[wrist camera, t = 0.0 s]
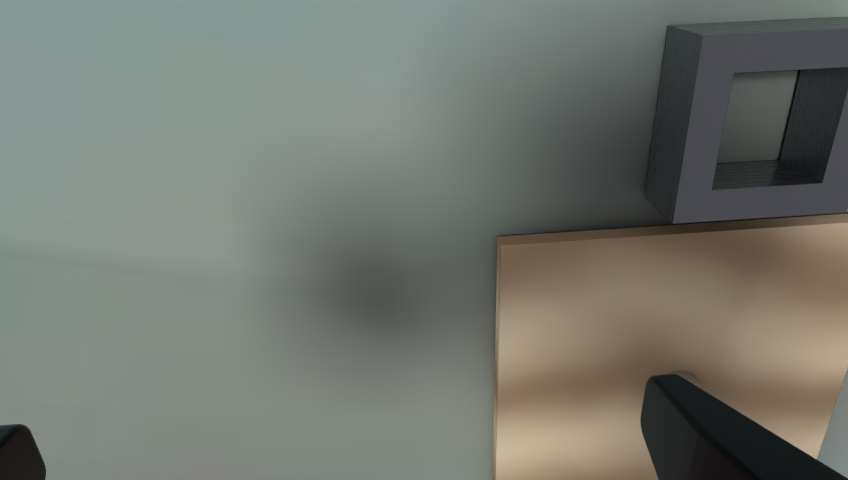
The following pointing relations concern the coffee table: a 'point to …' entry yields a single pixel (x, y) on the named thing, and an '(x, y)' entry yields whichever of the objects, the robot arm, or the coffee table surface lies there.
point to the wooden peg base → (663, 336)
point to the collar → (706, 109)
